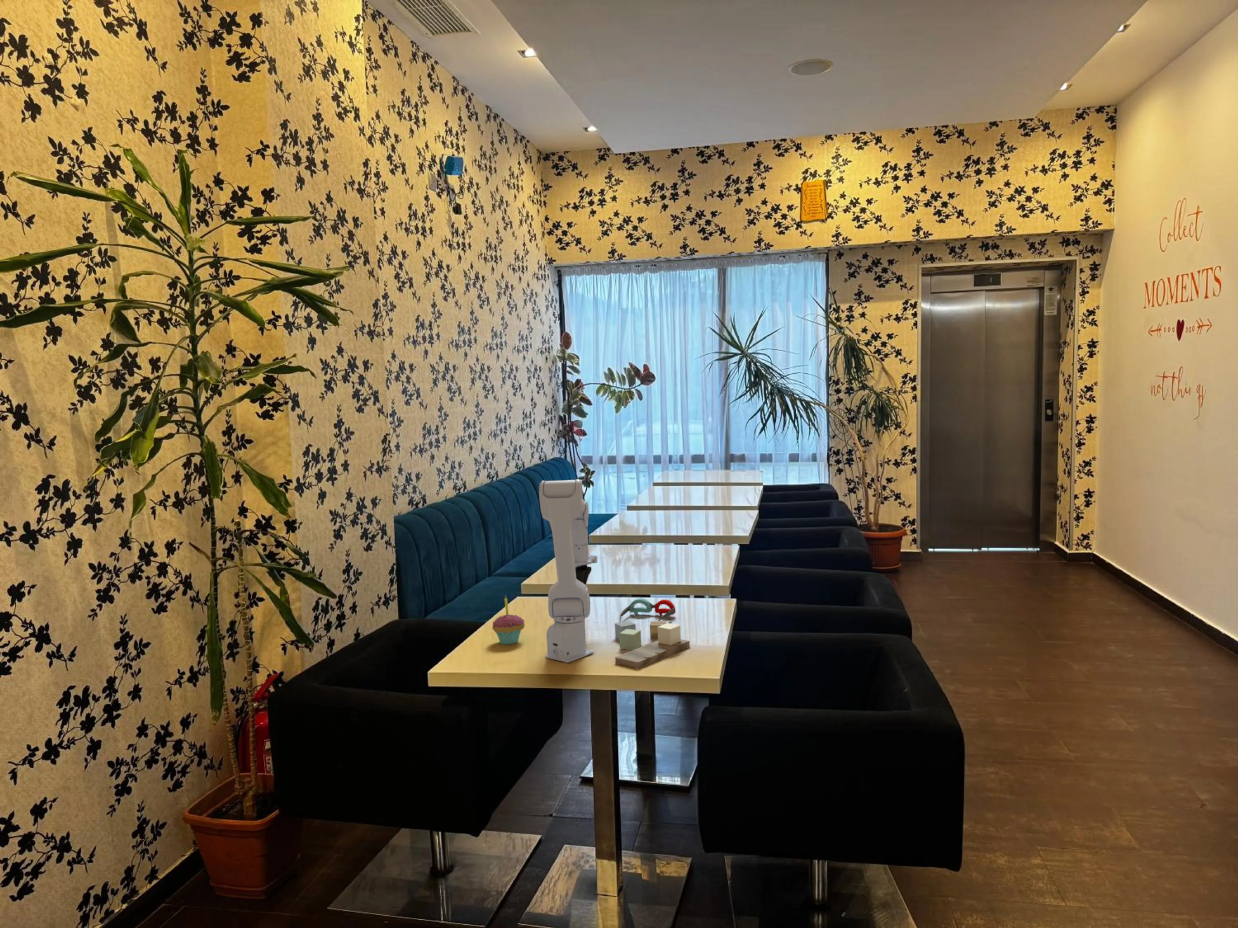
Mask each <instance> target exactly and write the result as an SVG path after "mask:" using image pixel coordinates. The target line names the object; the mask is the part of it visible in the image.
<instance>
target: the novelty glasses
mask: <svg viewBox="0 0 1238 928" xmlns="http://www.w3.org/2000/svg"><path fill="white" fill-rule="evenodd" d="M637 604H642V605H644V606H645V607H644V606H637V607H635V606H636V605H637ZM662 605H665V606H667V607H668V608H666V607H662V608H660V607H661V606H662ZM653 609H654V613H656V614H658V616H659V615H661V616H660V618H659V619H658V620H657V621H663V619H666V618H669V617H670V616H673V615H674V614H676V612H677V610H676V606H675V604H674V603H673V602H672V601H671V600H669V599H666V598H665V599H661V600H659V601H658V602H656V603H655V604H652V603H651V602H650V601H649V600H648V599H645V598H636V599H634V600H633V601H632V602H631V603H630V604H629V605H628V606H627V607H625V608H624V609H623V610H622V612H621V613H620V615H619V622H622V621H621V618H622V617H623V616H624V615H626V614H627V613H628V612H630V613H631V614H632V613H633V615H634V616H636V615H638V614H639V613H647V614H649V613H651V612H652V611H653Z"/></svg>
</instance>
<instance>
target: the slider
mask: <svg viewBox="0 0 1238 928" xmlns="http://www.w3.org/2000/svg"><path fill="white" fill-rule="evenodd" d="M681 635H682V634H681V625H680V624H679V625H678V624H676V623H675V624H674V623H669V622H666V624H664V625H661V626H659V627H658V643H662V644H667V645H673V644H675V643H678V642H680V641H681V639H682V638H681V637H682V636H681Z"/></svg>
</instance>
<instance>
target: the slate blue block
mask: <svg viewBox="0 0 1238 928" xmlns="http://www.w3.org/2000/svg"><path fill="white" fill-rule="evenodd" d="M626 629H632V630H637V629H636V623H634V622H632V621H630V620H624V621H621V622H620V621H619V622H615V623H614V632H615V633H614V635H615V639H617V640H619V641H620V634H619V633H621V632H622V631H624V630H626Z"/></svg>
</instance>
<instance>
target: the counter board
mask: <svg viewBox="0 0 1238 928" xmlns="http://www.w3.org/2000/svg"><path fill="white" fill-rule="evenodd" d="M690 647H691V645H690V640H688V639H687V640H686V639H682V638H681V641H680V642H678V643H675V644H673V645H667V644H662V643H658V640H654V641H653V642H649V643H648V644H645V645H643V646H642V645H641V646H640V647H638V648H637V649H635V650H631V651H630V650H629V651H627V652H624V653H623V654H620V655H617V656H615V657H614V658H615V660H614V662H615V664H617V665H621V666H625V667H628V668H629V667H630V668H633V669H641V668H643V667H645V666H648V665H650V664H653V663H655V662H657V661H660V660H662V659H665V658H667V657H669V656H671V655H674V654H677V653H679V652H680V651H683V650H686V649H688V648H690Z"/></svg>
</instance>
